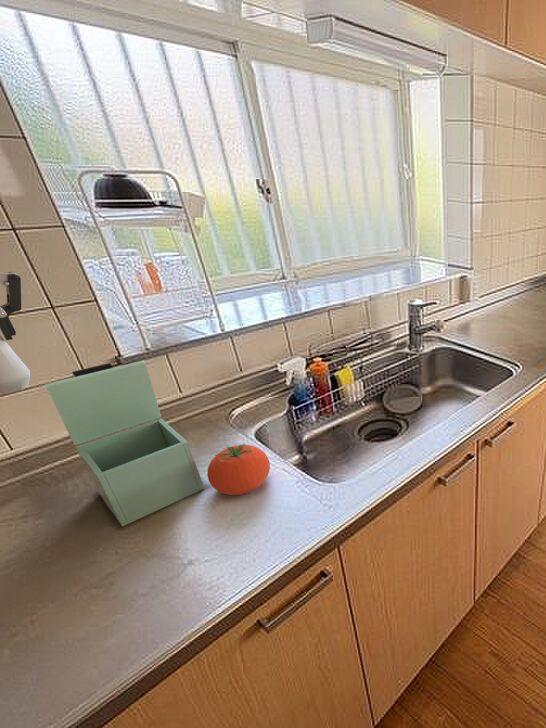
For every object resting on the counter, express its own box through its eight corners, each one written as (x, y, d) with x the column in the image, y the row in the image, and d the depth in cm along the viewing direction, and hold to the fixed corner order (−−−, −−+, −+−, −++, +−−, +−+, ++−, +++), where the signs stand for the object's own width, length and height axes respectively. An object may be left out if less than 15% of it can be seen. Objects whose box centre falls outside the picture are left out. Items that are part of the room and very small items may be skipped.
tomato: (285, 476, 87) (275, 436, 83) (249, 510, 78) (236, 467, 74) (241, 468, 89) (229, 428, 84) (201, 501, 80) (185, 459, 75)
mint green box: (205, 491, 82) (187, 441, 77) (124, 530, 73) (97, 476, 67) (179, 465, 88) (161, 418, 83) (101, 498, 79) (75, 446, 74)
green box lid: (145, 362, 75) (133, 348, 77) (46, 386, 66) (35, 370, 67) (161, 417, 83) (150, 403, 84) (75, 445, 73) (64, 429, 75)
